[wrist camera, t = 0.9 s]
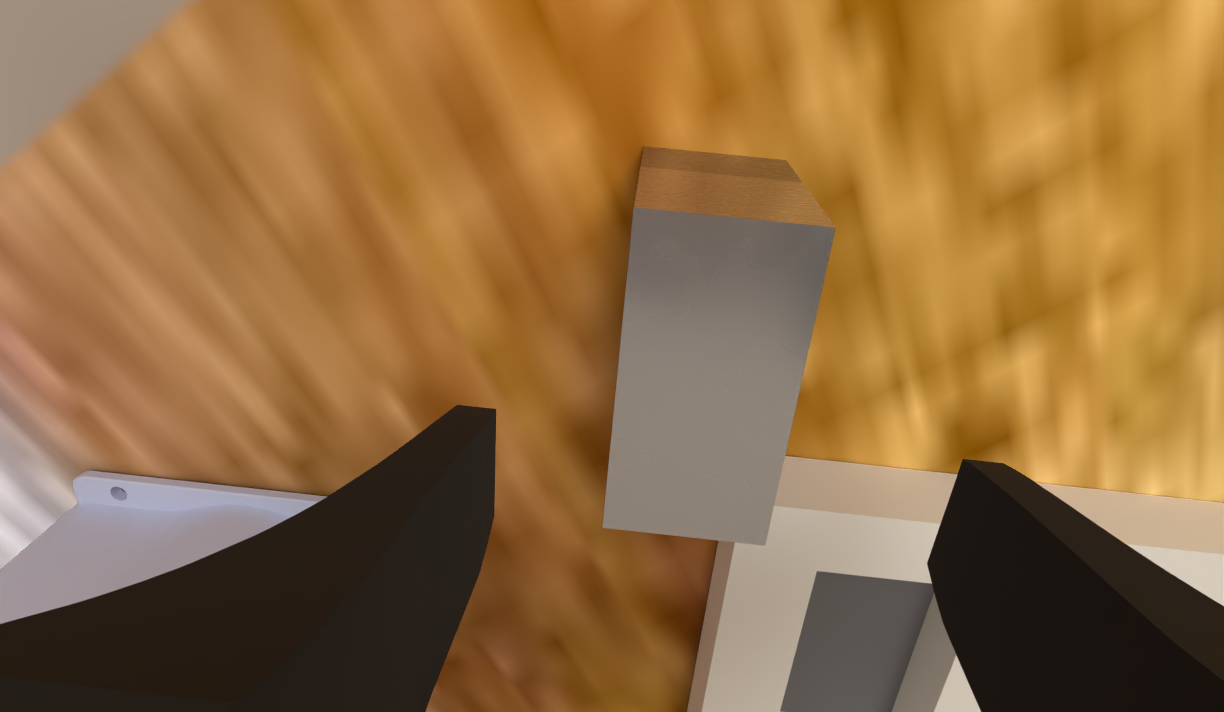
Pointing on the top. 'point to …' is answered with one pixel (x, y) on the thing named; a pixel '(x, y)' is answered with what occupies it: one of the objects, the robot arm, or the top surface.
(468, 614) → the top surface
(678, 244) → the tall grey block
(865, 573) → the light grey flat piece
